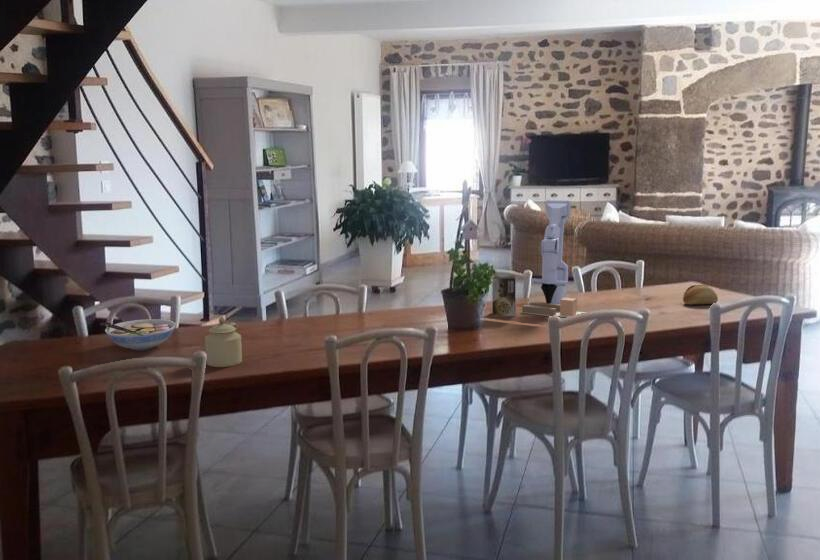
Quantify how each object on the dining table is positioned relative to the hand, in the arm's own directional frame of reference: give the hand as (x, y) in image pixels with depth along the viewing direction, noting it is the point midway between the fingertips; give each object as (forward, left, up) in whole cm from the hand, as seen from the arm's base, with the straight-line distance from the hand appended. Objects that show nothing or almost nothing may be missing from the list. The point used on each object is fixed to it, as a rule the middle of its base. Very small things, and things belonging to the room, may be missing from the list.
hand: (548, 303), depth 297 cm
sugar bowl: (+110, -67, -5) cm, 129 cm away
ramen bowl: (+112, -103, -5) cm, 152 cm away
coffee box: (+12, -14, -5) cm, 19 cm away
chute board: (0, +3, -5) cm, 5 cm away
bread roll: (-48, +48, -5) cm, 68 cm away
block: (0, +8, -4) cm, 9 cm away
